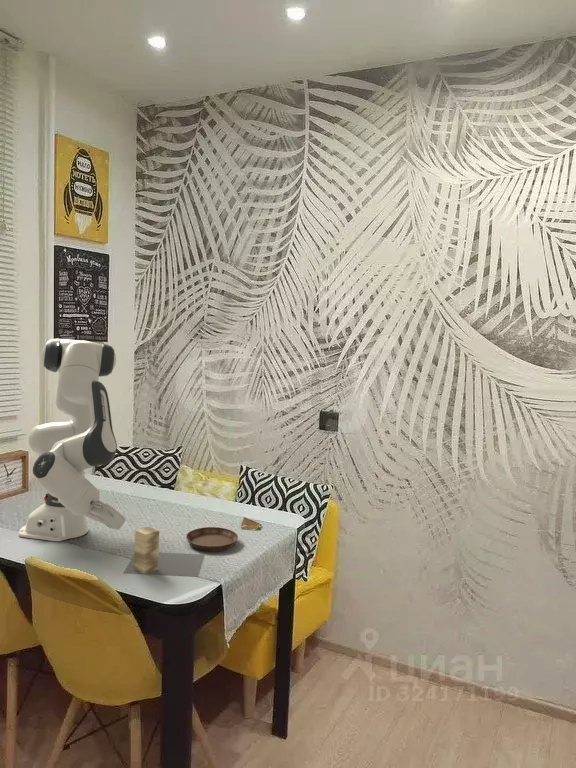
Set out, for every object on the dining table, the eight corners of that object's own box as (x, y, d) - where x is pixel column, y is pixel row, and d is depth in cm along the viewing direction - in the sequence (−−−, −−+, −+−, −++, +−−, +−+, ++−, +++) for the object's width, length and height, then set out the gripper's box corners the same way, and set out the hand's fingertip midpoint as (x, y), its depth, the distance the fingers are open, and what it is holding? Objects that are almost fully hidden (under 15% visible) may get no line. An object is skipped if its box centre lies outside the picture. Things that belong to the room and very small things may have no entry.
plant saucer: (215, 558, 195) (215, 549, 194) (174, 545, 204) (175, 536, 204) (247, 543, 209) (248, 535, 209) (208, 531, 219) (209, 523, 219)
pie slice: (243, 520, 234) (243, 516, 234) (263, 522, 233) (263, 517, 233) (239, 530, 223) (240, 525, 223) (260, 531, 223) (260, 527, 222)
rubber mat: (122, 576, 177) (122, 573, 177) (136, 554, 194) (136, 551, 194) (197, 579, 177) (197, 576, 177) (204, 557, 194) (204, 554, 194)
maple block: (144, 574, 177) (145, 534, 176) (133, 568, 180) (135, 530, 179) (157, 569, 181) (159, 530, 179) (147, 564, 184) (148, 526, 183)
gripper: (111, 497, 156) (141, 525, 164) (69, 480, 169) (99, 507, 177) (96, 517, 153) (127, 545, 161) (54, 499, 166) (85, 525, 174)
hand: (112, 525), depth 169 cm, fingers closed
